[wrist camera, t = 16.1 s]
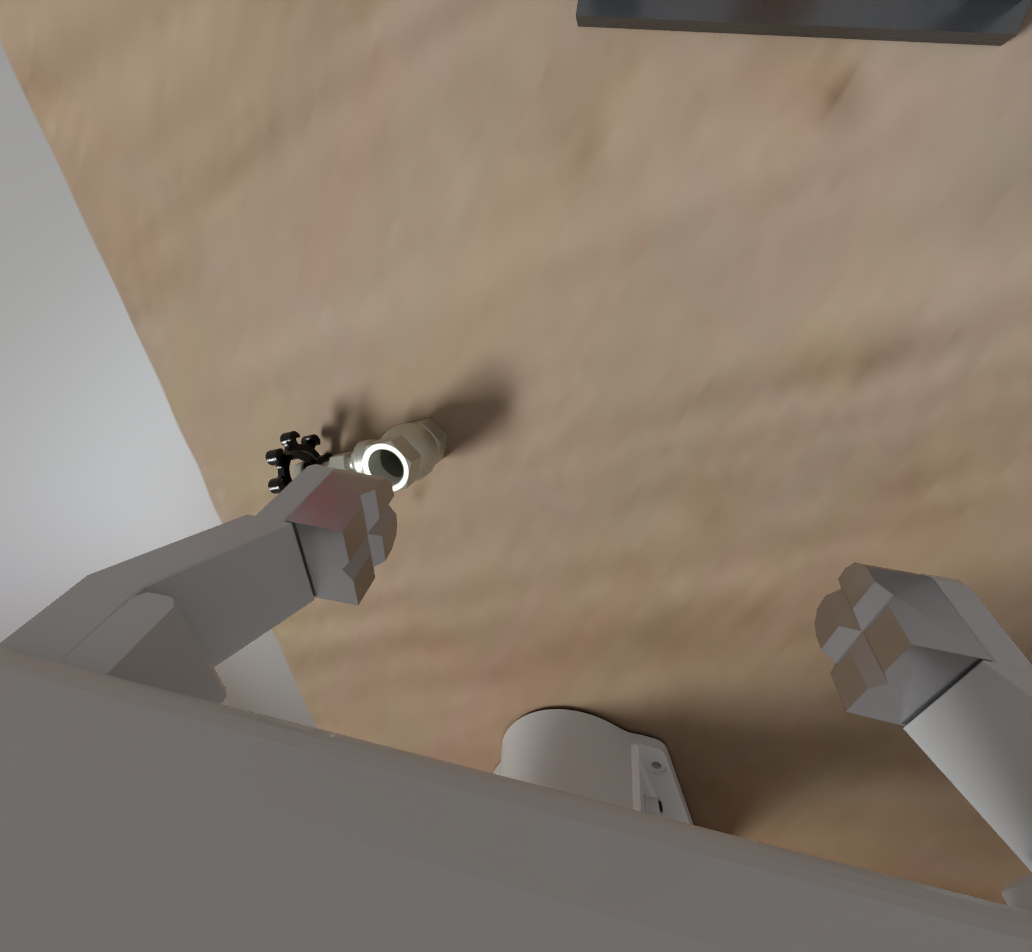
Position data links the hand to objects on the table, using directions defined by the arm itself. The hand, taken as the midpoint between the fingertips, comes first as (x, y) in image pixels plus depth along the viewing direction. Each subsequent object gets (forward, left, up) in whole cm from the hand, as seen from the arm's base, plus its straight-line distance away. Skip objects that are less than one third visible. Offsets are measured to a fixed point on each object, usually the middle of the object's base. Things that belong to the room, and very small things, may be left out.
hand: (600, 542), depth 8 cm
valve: (+4, +19, -24) cm, 31 cm away
